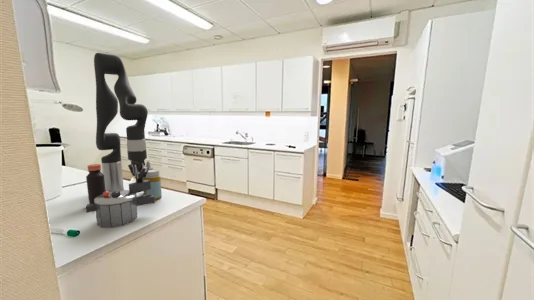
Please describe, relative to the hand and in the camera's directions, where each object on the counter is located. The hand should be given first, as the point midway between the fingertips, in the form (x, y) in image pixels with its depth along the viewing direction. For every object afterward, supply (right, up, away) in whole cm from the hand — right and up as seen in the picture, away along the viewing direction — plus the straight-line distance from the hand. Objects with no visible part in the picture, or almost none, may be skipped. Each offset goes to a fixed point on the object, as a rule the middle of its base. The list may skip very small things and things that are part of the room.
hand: (139, 185), depth 107 cm
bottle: (0, -9, +14) cm, 17 cm away
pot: (-2, -13, -9) cm, 16 cm away
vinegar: (-23, -11, +4) cm, 25 cm away
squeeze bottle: (-7, -8, +23) cm, 25 cm away
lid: (-1, -3, -9) cm, 9 cm away
